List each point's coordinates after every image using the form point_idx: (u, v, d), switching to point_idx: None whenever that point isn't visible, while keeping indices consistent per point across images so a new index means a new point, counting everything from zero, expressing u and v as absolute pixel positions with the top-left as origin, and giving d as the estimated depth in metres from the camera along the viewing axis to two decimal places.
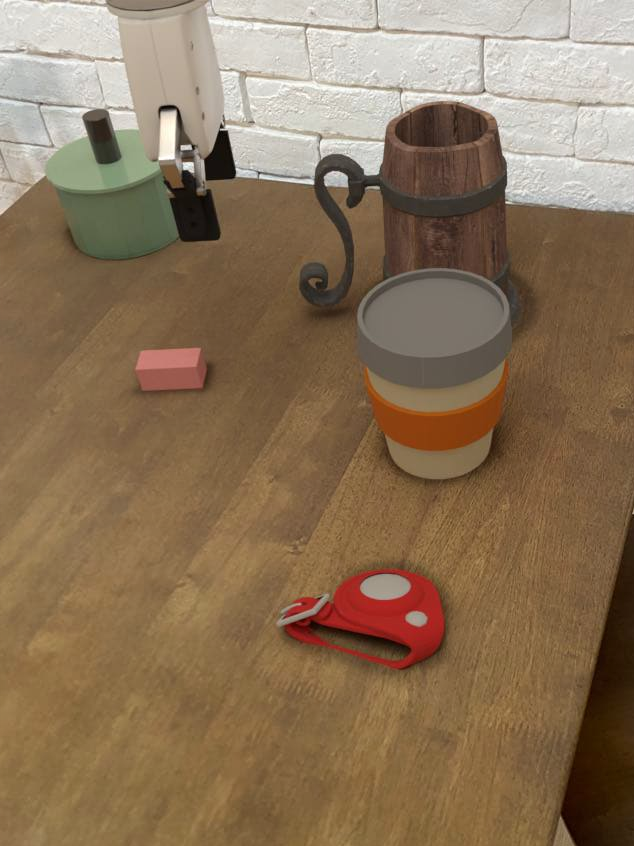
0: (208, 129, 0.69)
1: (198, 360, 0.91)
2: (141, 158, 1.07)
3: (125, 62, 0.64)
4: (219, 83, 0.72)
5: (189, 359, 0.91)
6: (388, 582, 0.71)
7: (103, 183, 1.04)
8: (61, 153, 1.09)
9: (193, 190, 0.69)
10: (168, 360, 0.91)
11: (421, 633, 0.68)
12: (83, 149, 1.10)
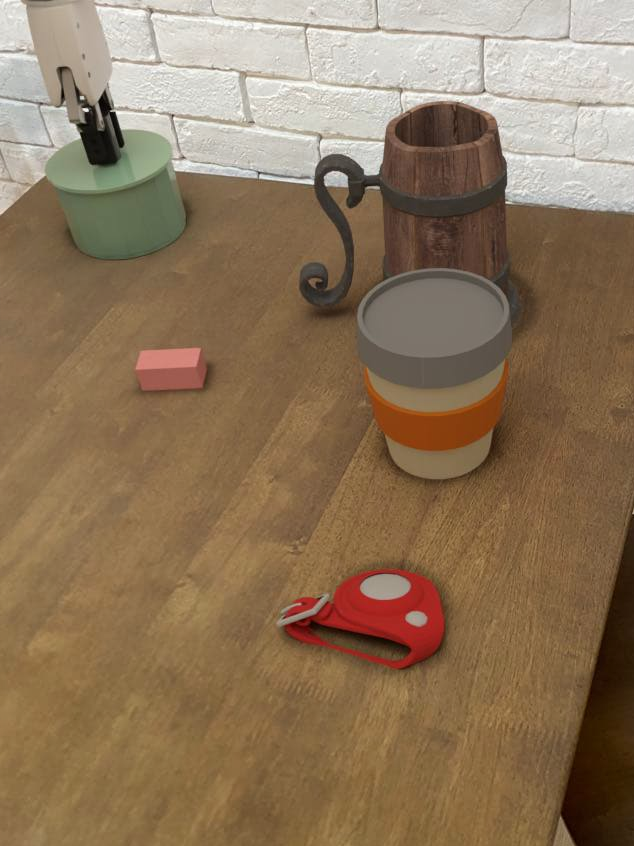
0: (94, 84, 0.98)
1: (198, 360, 0.91)
2: (141, 158, 1.07)
3: (32, 36, 0.94)
4: (106, 53, 1.02)
5: (189, 359, 0.91)
6: (388, 582, 0.71)
7: (103, 183, 1.04)
8: (61, 153, 1.09)
9: (94, 126, 1.02)
10: (168, 360, 0.91)
11: (420, 633, 0.68)
12: (83, 149, 1.10)
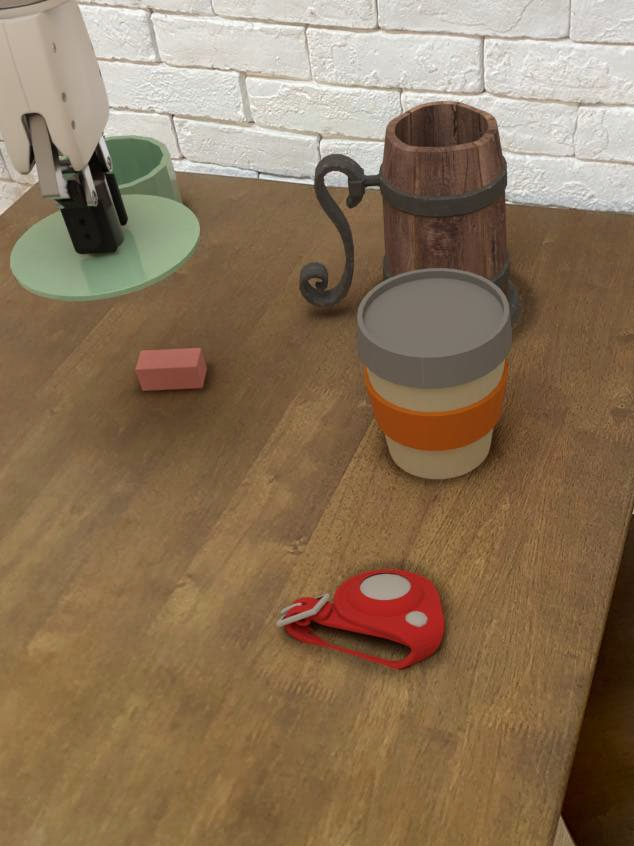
0: (81, 139, 0.63)
1: (198, 360, 0.91)
2: (154, 242, 0.72)
3: None
4: (99, 88, 0.66)
5: (189, 359, 0.91)
6: (388, 582, 0.71)
7: (97, 284, 0.68)
8: (35, 233, 0.74)
9: (82, 201, 0.66)
10: (168, 360, 0.91)
11: (421, 633, 0.68)
12: None
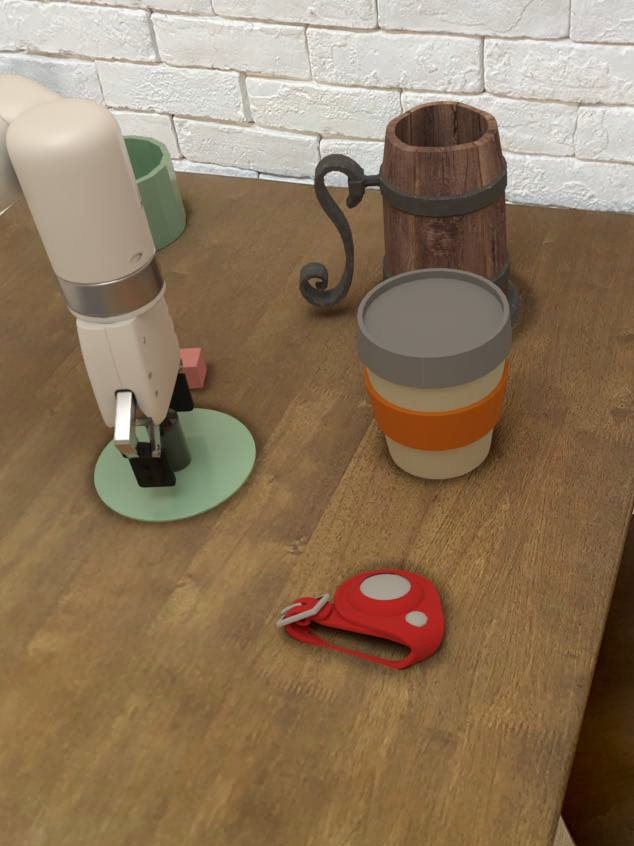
0: (162, 400, 0.75)
1: (198, 360, 0.91)
2: (217, 463, 0.84)
3: (83, 356, 0.70)
4: (174, 346, 0.78)
5: (189, 359, 0.91)
6: (388, 582, 0.71)
7: (171, 508, 0.81)
8: (113, 449, 0.86)
9: (148, 455, 0.75)
10: None
11: (421, 633, 0.68)
12: None
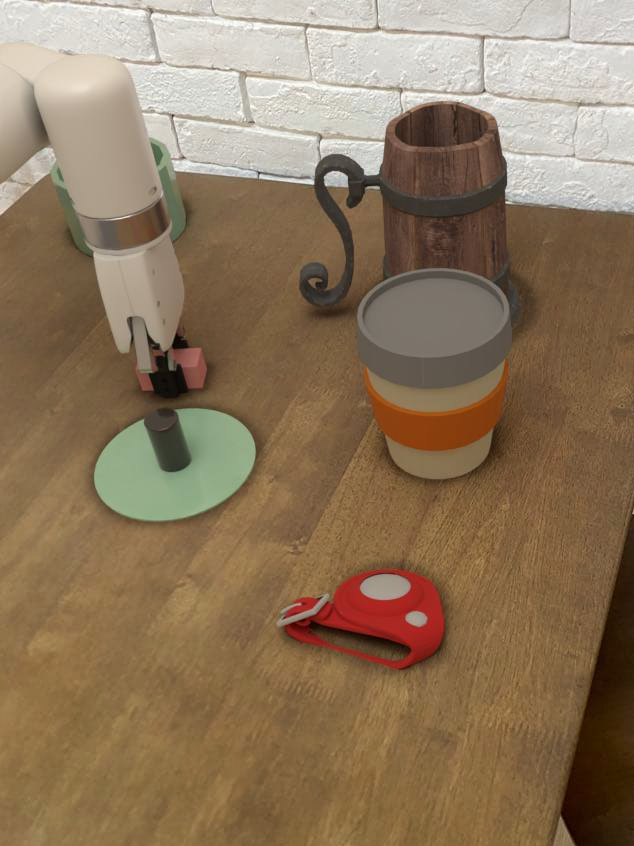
0: (168, 329, 0.84)
1: (198, 360, 0.91)
2: (217, 463, 0.84)
3: (99, 286, 0.80)
4: (179, 283, 0.88)
5: (189, 359, 0.91)
6: (387, 582, 0.71)
7: (171, 508, 0.81)
8: (113, 449, 0.86)
9: (166, 368, 0.87)
10: None
11: (420, 633, 0.68)
12: (141, 443, 0.86)
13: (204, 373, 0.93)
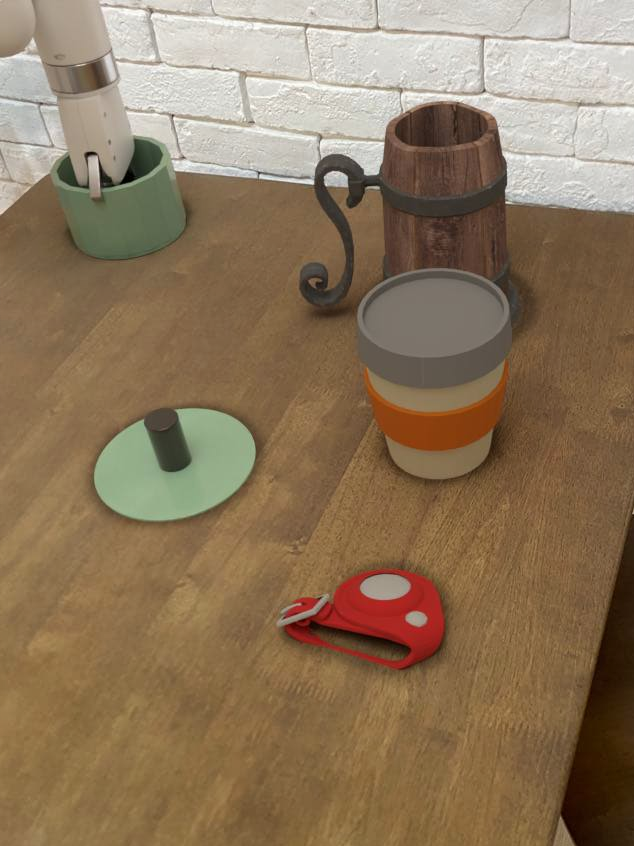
0: (118, 166, 1.05)
1: None
2: (217, 463, 0.84)
3: (62, 125, 1.01)
4: (129, 134, 1.09)
5: None
6: (387, 582, 0.71)
7: (171, 508, 0.81)
8: (113, 449, 0.86)
9: None
10: None
11: (420, 633, 0.68)
12: (141, 443, 0.86)
13: None
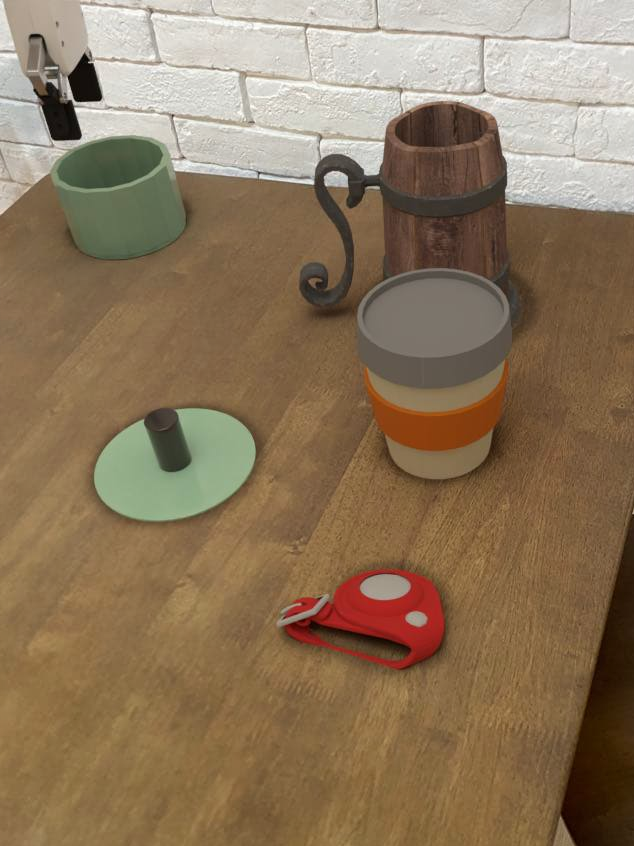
0: (68, 54, 0.95)
1: None
2: (217, 463, 0.84)
3: (3, 1, 0.91)
4: (81, 24, 0.99)
5: None
6: (387, 582, 0.71)
7: (171, 508, 0.81)
8: (113, 449, 0.86)
9: (56, 98, 0.95)
10: None
11: (421, 633, 0.68)
12: (141, 443, 0.86)
13: None
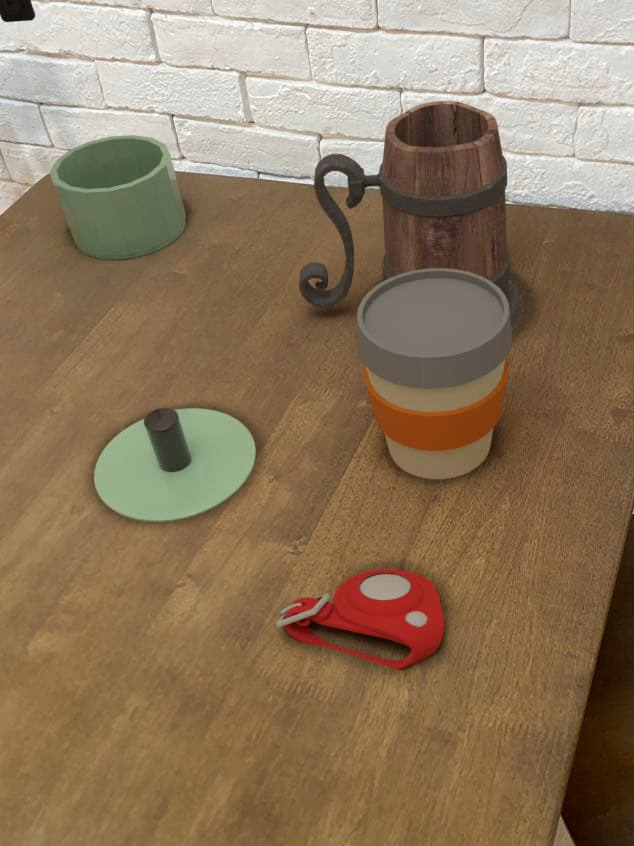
0: None
1: None
2: (217, 463, 0.84)
3: None
4: None
5: None
6: (387, 582, 0.71)
7: (171, 508, 0.81)
8: (113, 449, 0.86)
9: None
10: None
11: (420, 633, 0.68)
12: (141, 443, 0.86)
13: None
